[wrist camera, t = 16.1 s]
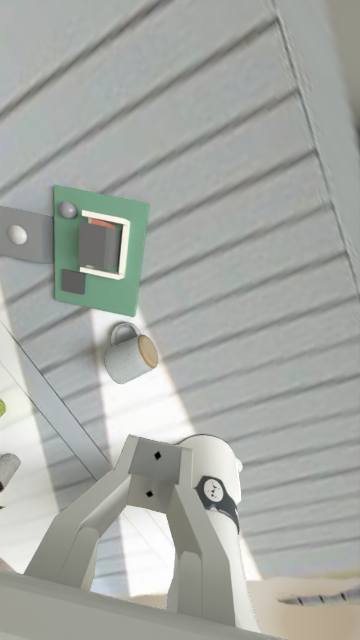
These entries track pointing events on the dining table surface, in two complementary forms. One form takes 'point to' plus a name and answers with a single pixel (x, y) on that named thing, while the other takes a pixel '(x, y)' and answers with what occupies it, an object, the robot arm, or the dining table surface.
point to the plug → (99, 244)
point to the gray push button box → (26, 235)
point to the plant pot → (2, 408)
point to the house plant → (7, 469)
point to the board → (92, 282)
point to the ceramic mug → (130, 356)
